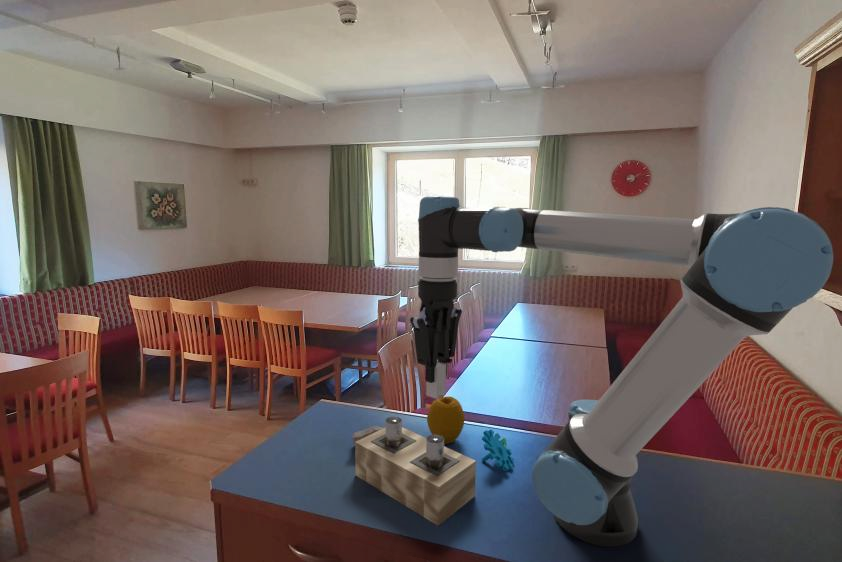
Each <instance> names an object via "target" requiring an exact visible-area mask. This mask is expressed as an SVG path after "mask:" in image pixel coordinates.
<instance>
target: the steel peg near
mask: <svg viewBox="0 0 842 562" xmlns="http://www.w3.org/2000/svg"><path fill="white" fill-rule="evenodd" d="M425 438H426V466H428V467H430V468H432V469H434V470H438V469H440V468H441V467H443V466H444V447H445V444H444V438H443V437H442V436H440V435H432V434H430V435H427V437H425Z"/></svg>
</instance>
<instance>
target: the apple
mask: <svg viewBox="0 0 842 562" xmlns="http://www.w3.org/2000/svg"><path fill="white" fill-rule="evenodd" d="M427 411H428V412H427V416H426V417H427V418H426V423H427V426H428V429H429V431H430V435H440V436H442V437H443V438H444V445H446V444H447V445H449V444H452V443H454V442H455V441H456V440H457V439H458V438H459V437H460V435H461V433H462V431H463V429H464V425H465V419H466V418H465V413H464V409H463V406H462V404H461V403H460V401H459V400H457V398H455V397H453V396H439V398H438V399H435V400H433V401H432V403H431V404H430V406H429V408H428V410H427Z"/></svg>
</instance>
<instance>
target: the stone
mask: <svg viewBox="0 0 842 562" xmlns="http://www.w3.org/2000/svg"><path fill="white" fill-rule="evenodd" d="M383 428H384V427H383V426H379V425H378V426H377V425H372V426H371V427H368V428H366V429H363V430H359V431H355V432H354V433H353V435H352V437H351V442H352V444H353V446H354V447H355V442H356V441H359V440H361V439H363V438H365V437H367V436H369V435H371V434H373V433H375V432H377V431H379V430H381V429H383Z"/></svg>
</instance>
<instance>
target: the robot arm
mask: <svg viewBox="0 0 842 562" xmlns="http://www.w3.org/2000/svg"><path fill="white" fill-rule="evenodd" d="M417 222H418V276H419V277H420V279H418V281H417V282H418V283H417V287H418V288H417V292H418V293H417V296H418V298H419V299H420V300H421V304H420V307H419V313H418V315H417V316H411V317H410V319H409V322H410V325H411V327H412V330H413V335H414V337H413V338H414V345H415V353H416V354H415V355H416V362H417V364H419V365H422V366H424V369H425V372H424V374H425V375H424V376H425V377H424V380H425V382H426V383H425V384H426V385H425V386H426V387H425V388H426V391H425V392H426V393H425V394H426V396H427V397H430V398H432V399H435V400H436V399H438V398H440V396H441V397H445V396H446V395H447V375H448V364H452V362H453V359H452V358H454V357H455V355H456V348H457V338H458V332H459V323H460V319H461V316H462V313H463V310H462V308H457V307H455V303H454V301H455V299H457V297H458V281H457V279H456V278H457V277H458V276H459V250H460V249H461V250H474V251H475V250H476V251H488V252H489V251H490V252H492V253H501V252H503V253H504V252H513V251H515V250H516V249H517V248H525V249H534V250H535V249H536V250H546V251H555V252H562V253H571V254H578V255H586V256H595V257H596V256H597V257H604V258H612V259H619V260H620V259H621V260H627V261H636V262H637V261H638V262H646V263H654V264H662V265H671V266H677V267H678V266H679V267H687V268H688V270H687V271H686V273H685V274H684V275H683V277H682V278H681V279H680V281H679V282H680V286H681V287H680V288H681V291H682V297H681V299H680V300H679V301H678V302H677V303H676V304H675V306H674V307H673V308H672V310H670V312H669V313H668V314H667V316H666V317H665V318H664V320H663V321H662V322H661V323H660V325H659V326H658V327H657V328H656V330H654V332H653V333H652V334H651V336H650V337H649V338H648V339H647V341H645V342H644V344H643V345H642V346H641V348H640V349H639V351H637V352H636V354H635V355H634V357H633V358H631V360H630V361H629V363H628V364H627V365H626V366H625V367H624V369H623V370H622V371H621V372H620V374H619V375H618V376H617V378H616V379H615V380H614V381H613V383H612V384H610V386H609V387H608V389H607V390H606V391H605V392H604V393H603V395H602V396H601V397H600V398H599V399H597V400H596V399H577V400H575V401H572V402H571V403H570V404H569V410H568V411H567V414H568V421H567V423H566V424H565V426H564V427H563V428H562V429H561V430H560V432H559V433H558V435H557V436H556V437H555V438H554V440H552V442H551V443H550V444H549V445H548V447H547V448H545V450H544V451H543V452H541V453H539V455H538V456H537V458H536V460H535V463H534V464H533V467H532V471H531V481H532V484H533V486H534V491H535V493H536V495H537V497H538V499H539V500H540V501H541V503H542V505H543V506H545V508H546V509H547V510H548V511H549V512H550V513H551V514H553V516H554V518H555V520H556V522H557V523H558V525H559V526H560V527H561V528H562V529H563V530H564V531H565V532H567V533H568V534H570V535H571V536H573V537H574V538H576V539H578V540H580V541H582V542H585V543H588V544H590V545H594V546H599V547H609V548H610V547H612V548H613V547H622V546H624V545H627V544H630V543H631V542H632V541H633V540H634V539H635V538H636V536H637V533H638V525H639V524H638V523H639V519H638V514H637V510H636V506H635V503H634V502H635V501H634V499H633V495H632V492H631V485H632V484H631V481H632V477H634V475H635V474H636V473H637V472H638V468H639V462H638V457H637V455H638V453H639V452H640V451H641V450H642V449H643V448H644V447H645V446H646V445H647V444H648V442H649V441H651V439H653V438H654V436H655V435H657V433H658V432H659V431H660V430H661V429H662V428H663V427H664V426H665V424H666V423H667V422H668V421H669V420H670V419H671V418H672V417H673V416H674V415H675V414H676V413H677V412H678V411H679V409H680V408H681V407H682V406H683V405H684V404H686V402H687V400H689V398H690V397H692V396H693V394H695V392H697V390H698V389H699V388H700V387H701V386H702V385H703V383H704V382H705V381H706V380H707V379H708V378H709V377H710V376H711V375H712V374H713V373H714V372H715V371H716V369H718V367H720V365H721V364H722V363H724V361H725V360H726V359H727V358H728V357H729V356H730V354H732V353H733V351H734V350H735V349H736V348H737V347H738V346H739V345H740V344H741V343H742V341H743V340H744V339H745V338H747V337H749V336H761V335H762V336H763V335H768V334H770V333H771V331H772V330H773V329H774V328H775V327H776V326H777V325H778V324H779V323H780V322H781V321H782V320H783V319H784V318H785V317H786V316H787V315H788V314H789V313H790V312H791V311H792V310H793V308H796V307H798V306H800V305H802V304H804V303H806V302H807V301H809V300H810V299H812V298H813V297H815V296H816V295H817V294H818V293H819V292H820V291H821V290H822V289H823V287H824V286H825V284H826V283H827V281H828V280H829V278H830V275H831V274H832V273H831V272H832V267H833V265H834V253H833V252H834V251H833V250H834V249H833V244H832V242H831V240H830V238H829V237H828V234H827V233H826V231H825V230H824V229H823V227H821V226H820V225H819V224H818V223H817V222H816V221H815V220H813V219H811V218H810V217H808V216H806V215H805V214H804V213H802V212H797V211H794V210H791V209H789V208H786V207H778V206H777V207H773V206H770V207H769V206H767V207H759V208H753V209H750V210H747V211H743V212H739V213H705V212H704V214H702V215H701V216H699V217H698V218H682V217H681V218H679V217H666V216H664V217H663V216H650V215H646V216H645V215H634V214H633V215H631V214H619V213H618V214H614V213H601V212H582V211H568V210H565V211H564V210H552V209H551V210H550V209H536V208H529V207H514V208H512V207H507V206H506V207H505V206H494V207H493V206H491V207H490V206H488V207H480V206H479V207H464V206H461V205H460V199H459V198H458V197H456V196H449V195H448V196H445V195H444V196H439V195H438V196H435V195H434V196H431V195H430V196H424V197H422V198H421V199H420V201H419V210H418V218H417Z"/></svg>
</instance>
